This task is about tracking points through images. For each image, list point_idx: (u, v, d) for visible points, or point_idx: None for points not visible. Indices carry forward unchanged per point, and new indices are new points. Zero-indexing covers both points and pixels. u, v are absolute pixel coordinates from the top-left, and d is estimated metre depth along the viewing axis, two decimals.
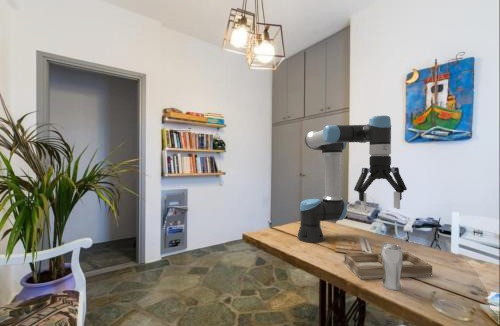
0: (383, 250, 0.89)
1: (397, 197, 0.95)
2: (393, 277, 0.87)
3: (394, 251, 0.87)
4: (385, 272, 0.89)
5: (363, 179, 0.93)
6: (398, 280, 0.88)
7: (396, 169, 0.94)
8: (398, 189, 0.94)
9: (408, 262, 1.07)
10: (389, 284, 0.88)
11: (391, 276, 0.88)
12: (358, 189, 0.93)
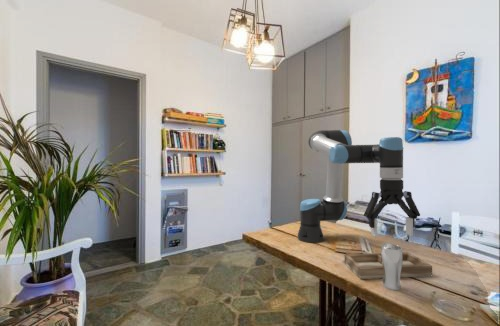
0: (383, 250, 0.89)
1: (410, 223, 0.89)
2: (393, 277, 0.87)
3: (394, 251, 0.87)
4: (385, 272, 0.89)
5: (374, 204, 0.88)
6: (398, 280, 0.88)
7: (409, 194, 0.88)
8: (411, 215, 0.88)
9: (408, 262, 1.07)
10: (389, 284, 0.88)
11: (391, 276, 0.88)
12: (368, 215, 0.88)
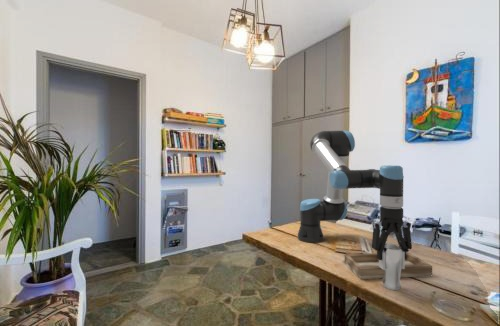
0: (383, 250, 0.89)
1: None
2: (393, 277, 0.87)
3: (394, 251, 0.87)
4: (385, 272, 0.89)
5: (378, 236, 0.88)
6: (398, 280, 0.88)
7: (408, 224, 0.89)
8: (403, 247, 0.89)
9: (408, 262, 1.07)
10: (389, 284, 0.88)
11: (391, 275, 0.88)
12: (376, 248, 0.88)
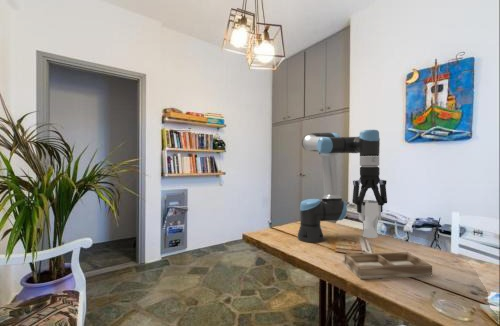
0: (362, 204, 1.02)
1: None
2: (370, 227, 1.00)
3: (371, 204, 0.99)
4: (364, 223, 1.02)
5: (357, 191, 1.01)
6: (375, 230, 1.00)
7: (384, 181, 1.01)
8: (380, 201, 1.01)
9: (408, 262, 1.07)
10: (367, 233, 1.01)
11: (368, 226, 1.00)
12: (356, 202, 1.01)
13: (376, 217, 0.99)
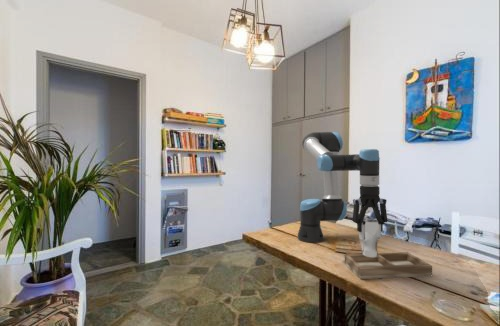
0: (362, 223, 1.02)
1: None
2: (371, 246, 1.00)
3: (371, 223, 0.99)
4: (364, 242, 1.02)
5: (357, 211, 1.01)
6: (375, 249, 1.00)
7: (384, 201, 1.02)
8: (380, 220, 1.01)
9: (408, 262, 1.07)
10: (367, 252, 1.01)
11: (369, 245, 1.00)
12: (356, 221, 1.01)
13: (376, 236, 0.99)
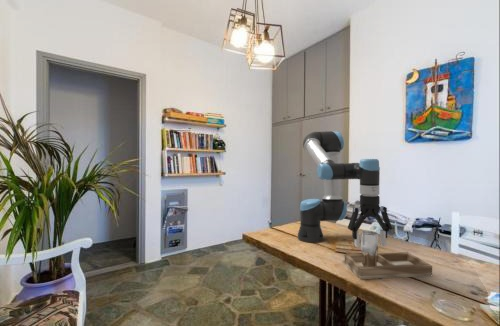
0: (362, 235, 1.02)
1: (383, 235, 1.02)
2: (370, 259, 1.00)
3: (371, 236, 1.00)
4: (363, 255, 1.02)
5: (355, 218, 1.01)
6: (374, 261, 1.01)
7: (384, 209, 1.02)
8: (384, 228, 1.02)
9: (408, 262, 1.07)
10: (367, 265, 1.01)
11: (368, 258, 1.01)
12: (351, 228, 1.01)
13: (375, 249, 1.00)
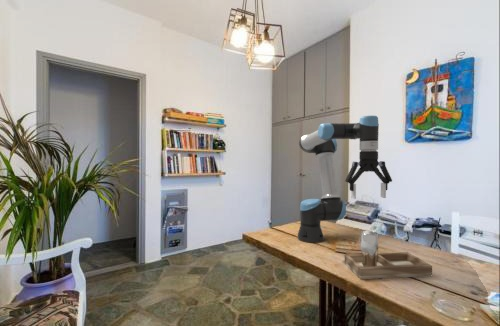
0: (362, 235, 1.02)
1: (383, 187, 1.07)
2: (370, 259, 1.00)
3: (370, 236, 1.00)
4: (363, 255, 1.02)
5: (353, 171, 1.06)
6: (374, 261, 1.01)
7: (383, 163, 1.07)
8: (384, 180, 1.07)
9: (408, 262, 1.07)
10: (367, 265, 1.01)
11: (368, 258, 1.01)
12: (348, 180, 1.06)
13: (375, 249, 1.00)
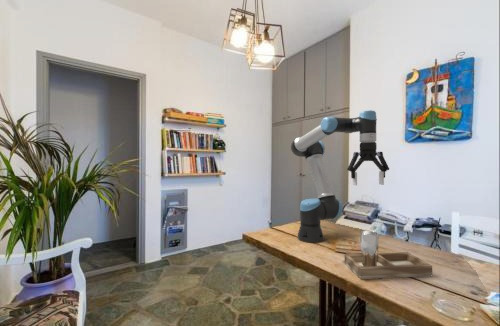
0: (362, 235, 1.02)
1: (381, 175, 1.19)
2: (370, 259, 1.00)
3: (371, 236, 1.00)
4: (363, 255, 1.02)
5: (354, 161, 1.18)
6: (374, 261, 1.01)
7: (380, 153, 1.19)
8: (382, 169, 1.19)
9: (408, 262, 1.07)
10: (367, 265, 1.01)
11: (368, 258, 1.01)
12: (350, 169, 1.18)
13: (375, 249, 1.00)
